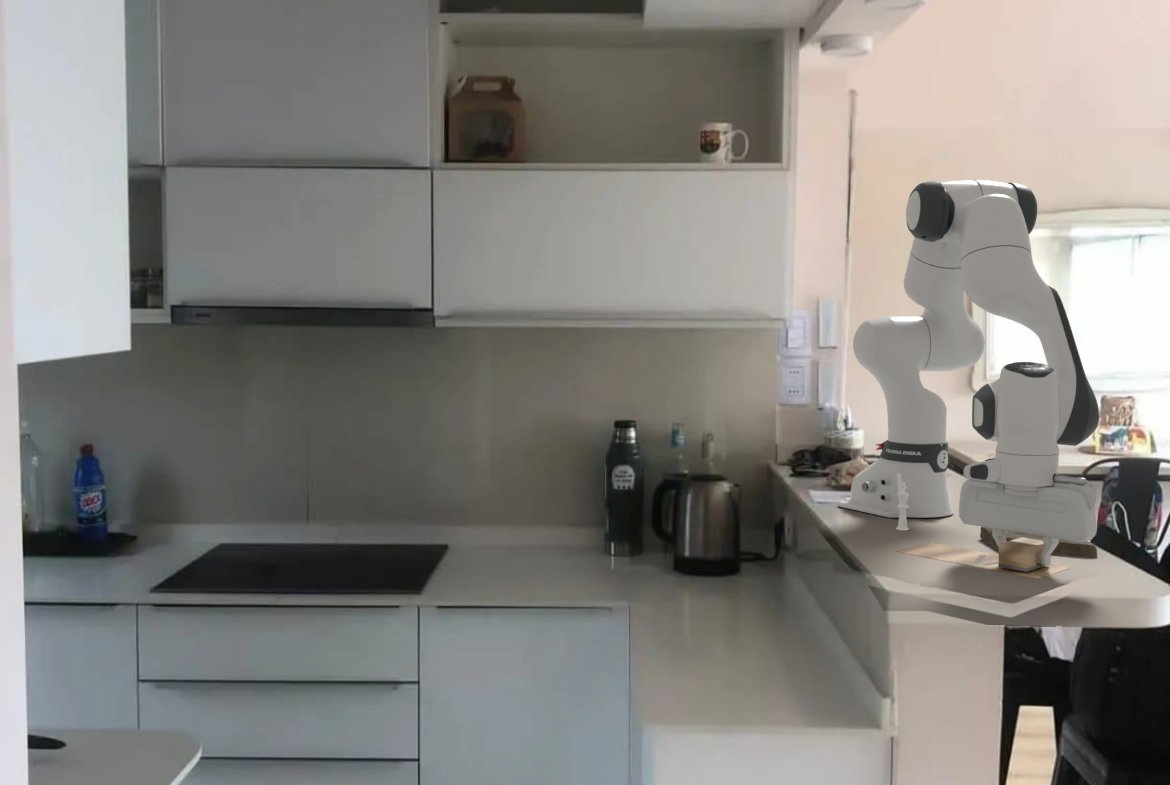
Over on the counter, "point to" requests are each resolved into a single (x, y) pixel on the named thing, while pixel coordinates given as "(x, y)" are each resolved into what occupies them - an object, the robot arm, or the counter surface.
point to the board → (975, 559)
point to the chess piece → (902, 508)
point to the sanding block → (1020, 554)
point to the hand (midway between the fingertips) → (1024, 561)
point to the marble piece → (1061, 549)
